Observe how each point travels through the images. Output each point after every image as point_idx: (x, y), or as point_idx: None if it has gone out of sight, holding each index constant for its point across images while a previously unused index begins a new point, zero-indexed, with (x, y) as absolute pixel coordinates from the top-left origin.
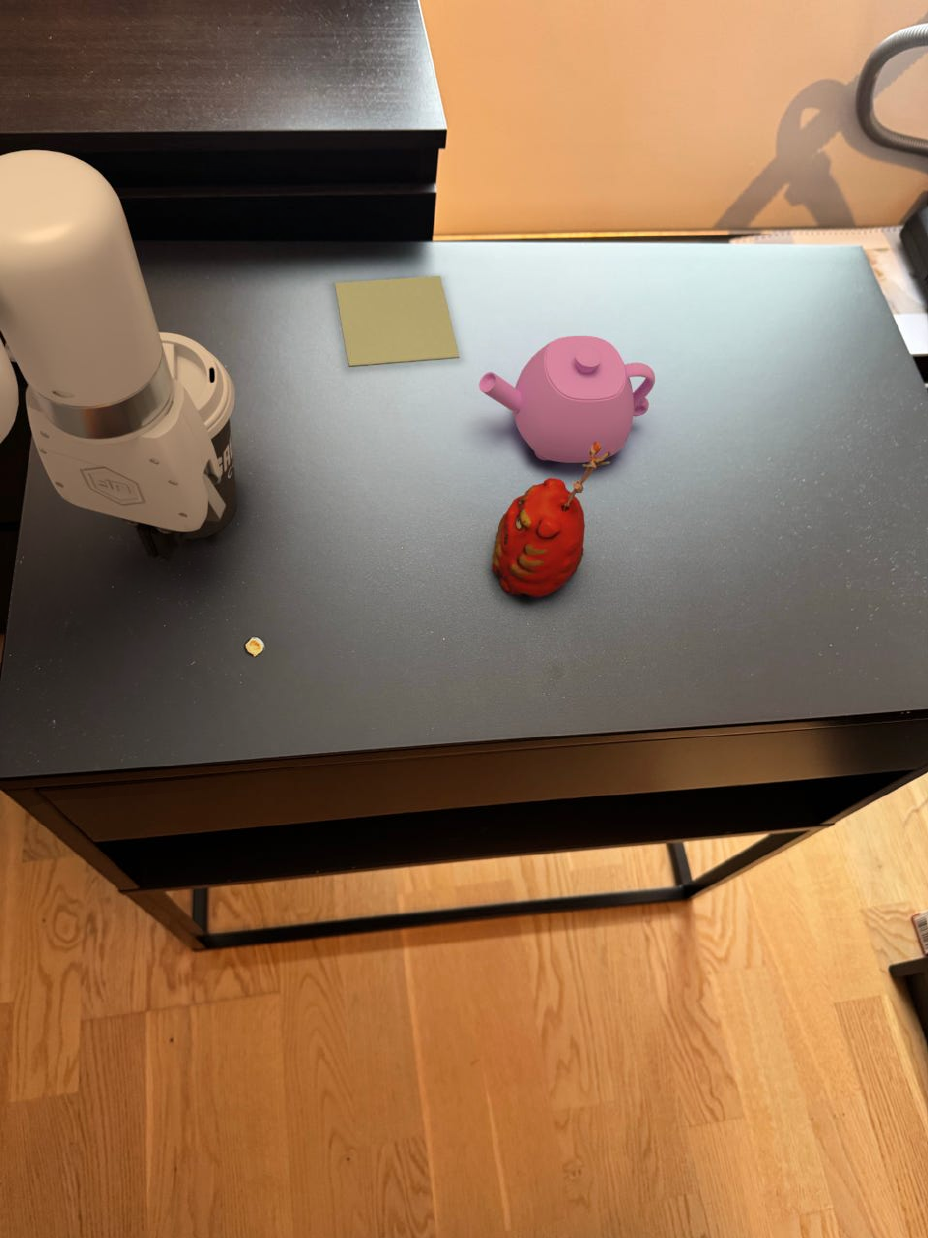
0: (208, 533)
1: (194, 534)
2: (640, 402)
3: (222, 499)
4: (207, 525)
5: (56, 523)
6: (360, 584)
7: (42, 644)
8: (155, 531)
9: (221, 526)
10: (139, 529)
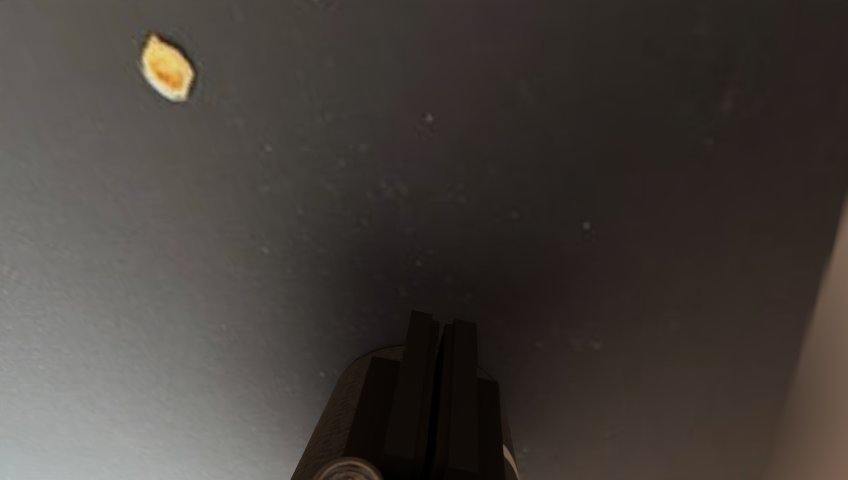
0: (370, 359)
1: (396, 359)
2: None
3: (295, 472)
4: (358, 387)
5: (731, 373)
6: (16, 255)
7: (820, 16)
8: (397, 463)
9: (345, 374)
10: (464, 473)
